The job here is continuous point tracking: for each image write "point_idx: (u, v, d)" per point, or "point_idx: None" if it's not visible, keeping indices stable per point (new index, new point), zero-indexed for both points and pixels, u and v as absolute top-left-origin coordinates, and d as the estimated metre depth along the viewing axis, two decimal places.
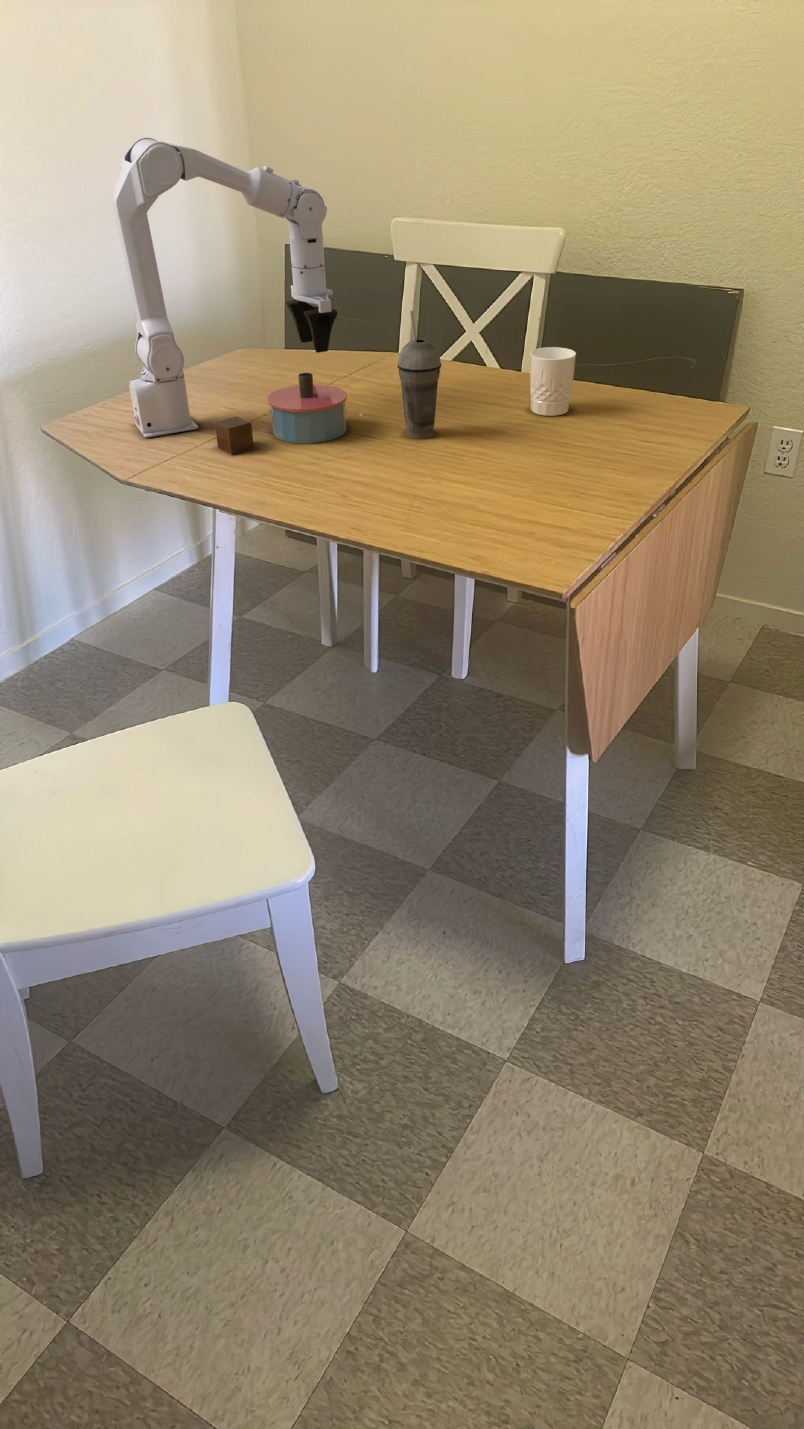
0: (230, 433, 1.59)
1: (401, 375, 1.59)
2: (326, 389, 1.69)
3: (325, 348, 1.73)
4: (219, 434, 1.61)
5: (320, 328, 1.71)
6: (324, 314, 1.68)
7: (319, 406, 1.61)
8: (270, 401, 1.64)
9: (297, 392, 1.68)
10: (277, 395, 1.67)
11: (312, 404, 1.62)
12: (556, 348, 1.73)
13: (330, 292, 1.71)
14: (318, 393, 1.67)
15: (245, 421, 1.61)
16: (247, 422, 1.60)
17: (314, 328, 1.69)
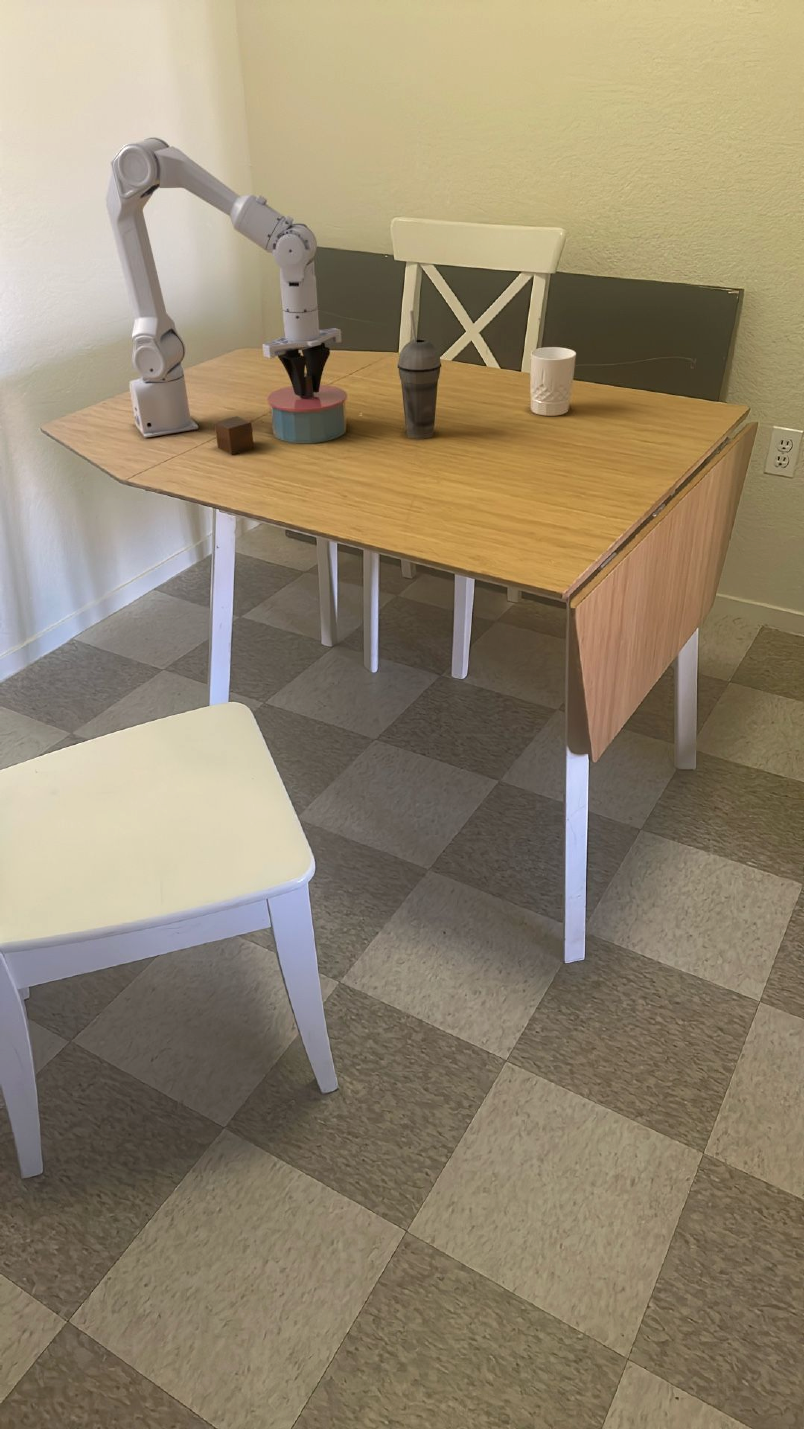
0: (230, 433, 1.59)
1: (401, 375, 1.59)
2: (326, 389, 1.69)
3: (299, 392, 1.64)
4: (219, 434, 1.61)
5: (294, 371, 1.62)
6: (285, 357, 1.60)
7: (319, 406, 1.61)
8: (270, 401, 1.64)
9: None
10: (277, 395, 1.67)
11: (312, 404, 1.62)
12: (556, 348, 1.73)
13: (309, 343, 1.58)
14: (318, 394, 1.67)
15: (245, 421, 1.61)
16: (247, 422, 1.60)
17: (285, 368, 1.63)
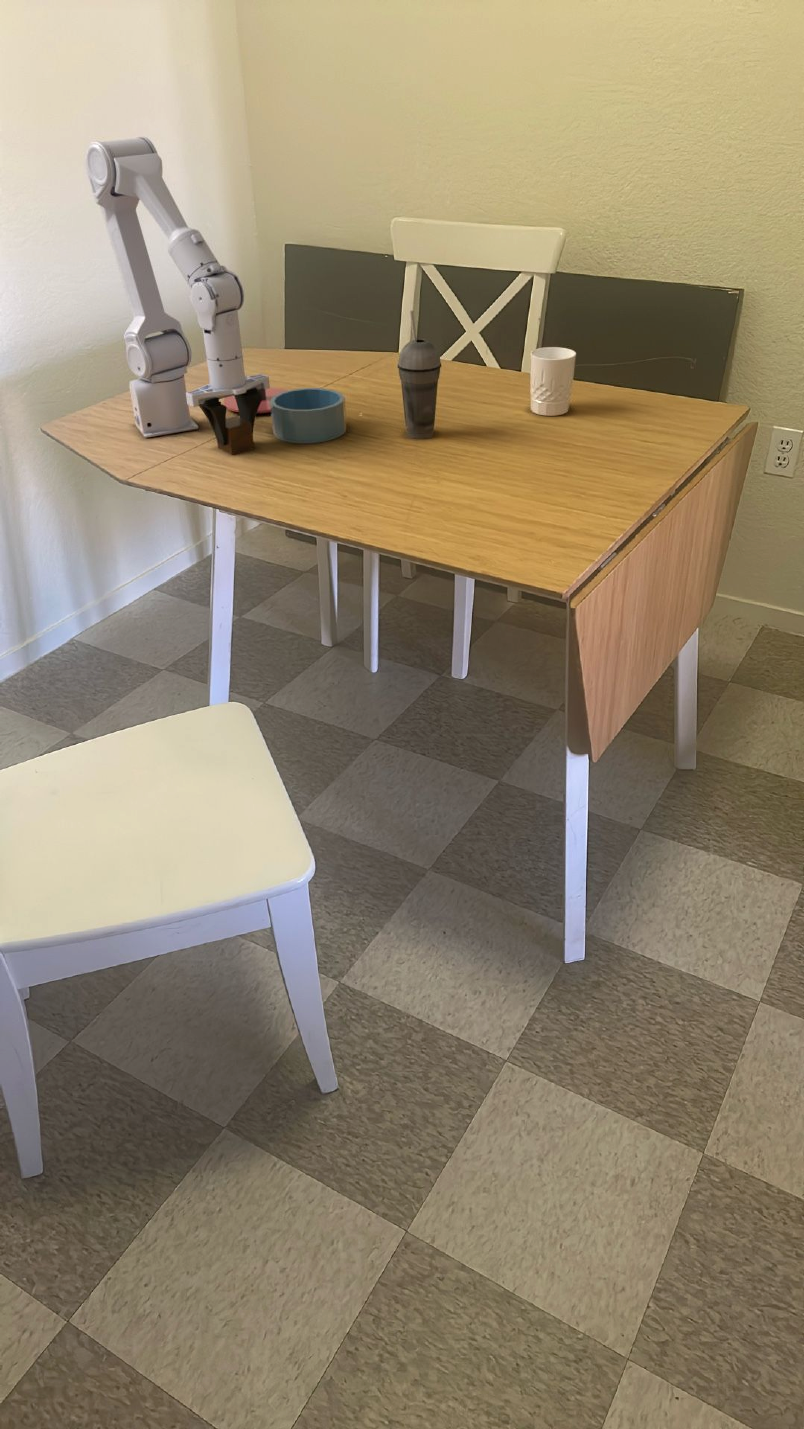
0: (230, 433, 1.59)
1: (401, 375, 1.59)
2: (278, 392, 1.84)
3: (221, 441, 1.60)
4: None
5: (216, 419, 1.59)
6: (205, 406, 1.56)
7: None
8: (225, 403, 1.79)
9: None
10: (233, 398, 1.82)
11: (263, 406, 1.77)
12: (556, 348, 1.72)
13: (234, 391, 1.54)
14: (270, 396, 1.82)
15: (245, 421, 1.61)
16: (247, 422, 1.60)
17: (206, 416, 1.59)
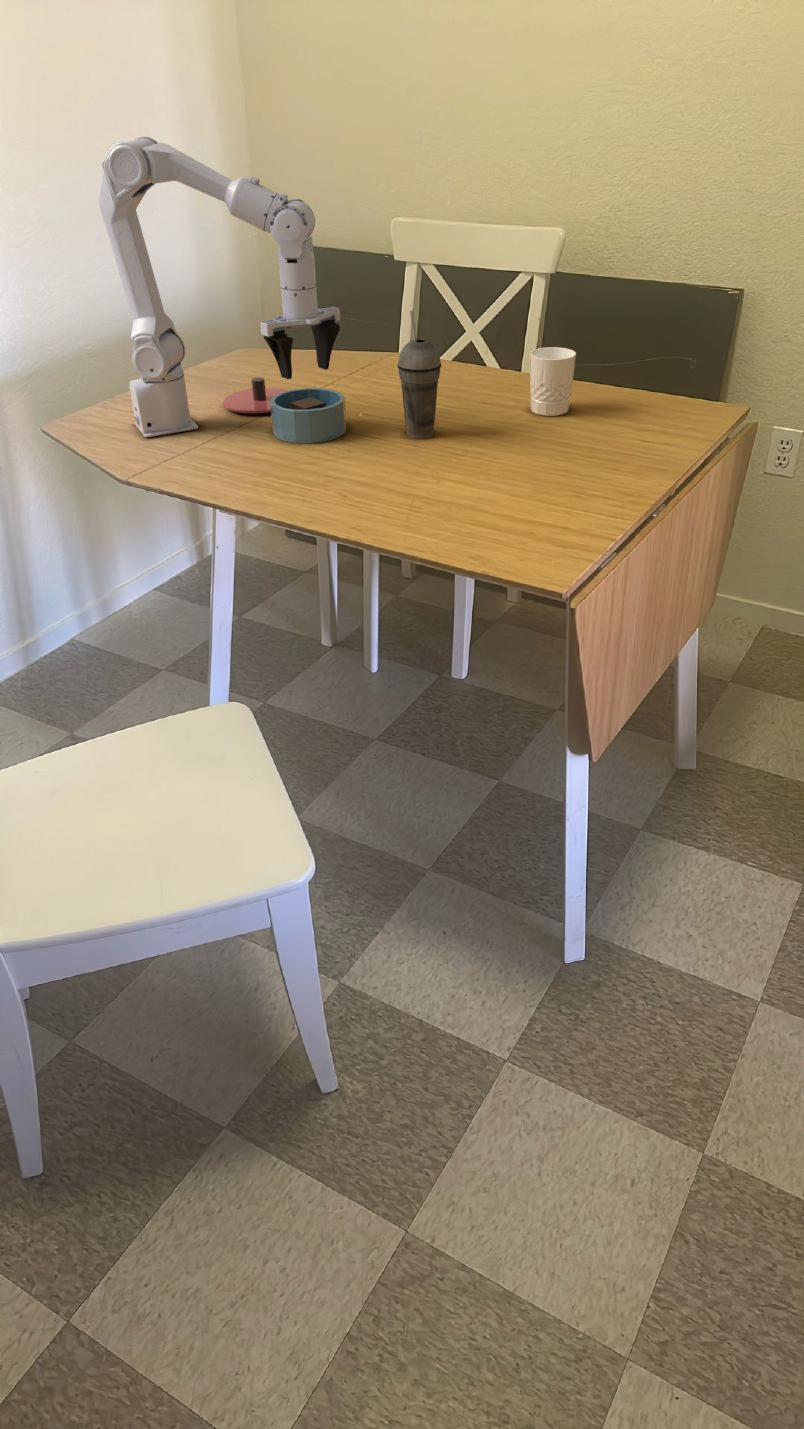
0: None
1: (401, 375, 1.59)
2: (278, 392, 1.84)
3: (286, 375, 1.61)
4: None
5: (281, 352, 1.59)
6: (271, 338, 1.56)
7: None
8: (225, 403, 1.79)
9: (251, 395, 1.83)
10: (233, 398, 1.82)
11: (263, 406, 1.77)
12: (556, 348, 1.73)
13: (308, 321, 1.56)
14: (270, 396, 1.82)
15: (320, 401, 1.67)
16: (322, 402, 1.66)
17: None
